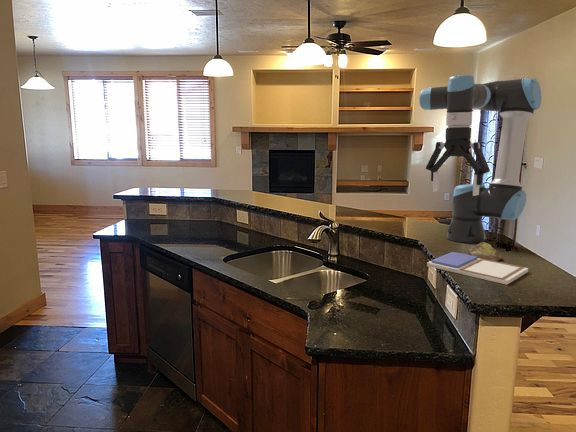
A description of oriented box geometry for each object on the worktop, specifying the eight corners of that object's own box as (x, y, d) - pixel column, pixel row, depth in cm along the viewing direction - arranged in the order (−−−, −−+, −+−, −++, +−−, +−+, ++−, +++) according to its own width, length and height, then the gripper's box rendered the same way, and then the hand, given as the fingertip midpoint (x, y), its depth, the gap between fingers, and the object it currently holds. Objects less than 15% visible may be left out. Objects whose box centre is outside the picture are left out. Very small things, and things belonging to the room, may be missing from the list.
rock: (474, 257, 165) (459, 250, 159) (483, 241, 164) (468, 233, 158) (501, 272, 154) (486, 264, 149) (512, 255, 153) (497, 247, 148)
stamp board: (451, 255, 158) (451, 250, 158) (527, 271, 139) (528, 265, 139) (426, 265, 147) (427, 260, 146) (507, 284, 128) (507, 278, 128)
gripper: (416, 127, 143) (414, 191, 147) (493, 126, 125) (488, 198, 129) (428, 127, 148) (426, 188, 152) (504, 125, 130) (499, 195, 134)
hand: (455, 193), depth 141 cm, fingers open, 13 cm apart
